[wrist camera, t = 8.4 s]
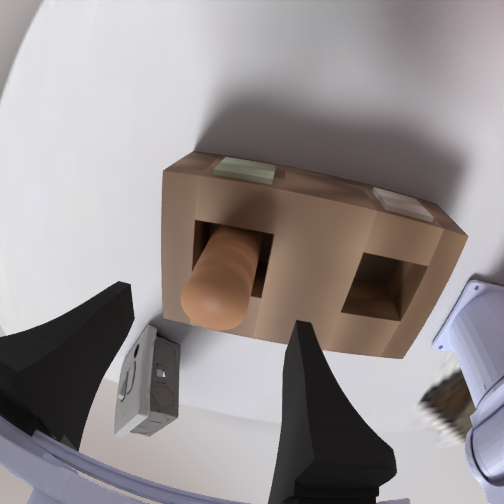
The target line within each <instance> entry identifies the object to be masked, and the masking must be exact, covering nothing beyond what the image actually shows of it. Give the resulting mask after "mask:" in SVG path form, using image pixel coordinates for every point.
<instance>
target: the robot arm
mask: <svg viewBox="0 0 504 504" xmlns="http://www.w3.org/2000/svg"><path fill="white" fill-rule="evenodd" d="M134 319H135V317H134V310H133V301H132V293H131V284H128V283H124V282H120V281H118V282H116V283H115V284H113V285H111V286H110V287H108V288H107V289H105V290H103V291H102V292H100V293H99V294H97V295H96V296H94V297H92V298H91V299H89V300H88V301H86V302H84V303H83V304H81V305H79V306H78V307H76V308H74V309H72V310H71V311H69V312H67V313H65V314H64V315H62V316H60V317H58V318H56V319H53V320H51V321H49V322H47V323H45V324H42V325H39V326H37V327H34V328H31V329H29V330H26V331H23V332H19V333H16V334H12V335H8V336H3V337H0V464H1V465H2V466H4V467H5V468H6V469H8V470H9V471H10V472H12V473H13V474H15V475H16V476H17V477H19V478H20V479H22V480H23V481H25V482H26V483H28V484H29V485H31V486H32V487H34V489H33V492H32V494H31V496H30V498H29V501H28V503H27V504H148V503H145V502H142V501H139V500H137V499H134V498H131V497H129V496H126V495H123V494H121V493H118V492H116V491H113V490H111V489H108V488H106V487H104V486H102V485H99V484H97V483H95V482H93V481H90V480H88V479H86V478H84V477H82V476H80V475H79V474H78V473H77V471H76V470H78V471H80V472H82V473H85V474H87V475H89V476H91V477H93V478H95V479H98V480H100V481H103V482H105V483H107V484H109V485H112V486H114V487H117V488H119V489H122V490H124V491H127V492H130V493H132V494H135V495H138V496H141V497H144V498H147V499H150V500H153V501H156V502H160V503H163V504H249V503H241V502H236V501H229V500H224V499H219V498H214V497H209V496H204V495H200V494H196V493H191V492H187V491H183V490H180V489H176V488H173V487H169V486H165V485H162V484H159V483H155V482H153V481H149V480H146V479H143V478H140V477H138V476H135V475H132V474H129V473H127V472H124V471H121V470H119V469H116V468H114V467H111V466H109V465H106V464H104V463H102V462H99V461H97V460H95V459H93V458H90V457H88V456H86V455H84V454H82V453H80V452H78V451H79V447H80V442H81V438H82V434H83V430H84V427H85V423H86V420H87V417H88V414H89V411H90V408H91V405H92V403H93V400H94V397H95V395H96V392H97V390H98V388H99V385H100V383H101V380H102V378H103V377H104V375H105V373H106V371H107V369H108V368H109V366H110V364H111V363H112V361H113V359H114V358H115V356H116V354H117V353H118V351H119V349H120V347H121V346H122V344H123V342H124V341H125V339H126V337H127V335H128V333H129V331H130V328H131V326H132V324H133V321H134ZM431 347H432V349H433V350H440V351H454V353H455V355H456V357H457V360H458V362H459V365H460V367H461V370H462V372H463V375H464V377H465V380H466V383H467V385H468V388H469V391H470V394H471V396H472V399H473V402H474V405H475V408H476V411H475V412H474V413H473V414H472V415H471V416H470V418H471V421H472V425H473V427H472V428H471V429H470V430H469V431H468V433H467V436H466V440H465V459H466V463H467V466H468V468H469V470H470V472H471V474H472V475H473V477H474V478H475V479H476V480H477V481H478V482H479V484H480V485H481V487H482V489H483V490H484V493H485V495H486V498H487V502H488V503H489V504H504V287H503V286H499V285H495V284H490V283H486V282H482V281H477V280H471V281H469V282H468V284H467V286H466V288H465V289H464V291H463V293H462V295H461V297H460V299H459V300H458V302H457V304H456V306H455V307H454V309H453V311H452V313H451V314H450V316H449V318H448V319H447V321H446V323H445V324H444V326H443V327H442V329H441V331H440V332H439V334H438V335H437V337H436V338H435V340H434V342H433V343H432V345H431ZM64 463H65V464H64ZM66 464H67V465H66ZM68 465H69V466H70V467H69V466H68ZM71 467H72V468H75V469H76V470H74V469H72V468H71ZM396 473H397V469H396V460H395V456H394V452H393V449H392V448H391V447H390V446H389V445H388V444H387V443H386V442H384V441H383V440H382V439H381V438H380V437H379V436H378V435H377V434H376V433H375V432H374V431H373V430H372V429H371V428H370V427H369V426H368V425H367V423H366V422H365V421H364V420H363V419H362V417H361V416H360V415H359V414H358V412H357V411H356V410H355V409H354V407H353V406H352V404H351V403H350V402H349V400H348V399H347V397H346V396H345V394H344V393H343V391H342V389H341V388H340V386H339V384H338V383H337V381H336V379H335V377H334V375H333V373H332V371H331V369H330V367H329V365H328V363H327V361H326V359H325V357H324V354H323V352H322V350H321V347H320V345H319V342H318V340H317V337H316V334H315V331H314V328H313V325H312V324H311V322H306V321H300V320H296V322H295V325H294V328H293V331H292V334H291V337H290V340H289V343H288V346H287V349H286V352H285V359H284V367H283V388H282V426H281V434H280V441H279V447H278V454H277V460H276V466H275V471H274V477H273V482H272V487H271V492H270V496H269V501H268V504H410V500H409V499H408V498H405V499H398V500H389V501H382V502H379V503H376V497H377V496H379V487H380V486H381V485H383V484H384V483H386V482H388V481H389V480H390V479H392V478H393V477H394V476H395V475H396Z"/></svg>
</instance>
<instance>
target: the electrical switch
mask: <svg viewBox="0 0 504 504" xmlns="http://www.w3.org/2000/svg"><path fill="white" fill-rule="evenodd" d="M156 333H157V328H156V327H154V326H151V325H147V326H146V328H145V329H144V331H143V332H142V334H141V335H140V337H139V338H138V340H137V341H136V343H135V345H134V346H133V348H132V349H131V351H130V352H129V354H128V355H127V357H126V358H125V360H124V362H123V365H122V369H121V374H120V380H119V387H118V394H117V403H116V410H115V424H114V434H115V435H116V436H119V437H123V436H124V435H125V434H127V433H128V432H132V433H138V434H142V435H146V436H151V435H153V434H154V433H156V432H157V431H159V430H160V429H162V428H163V427H165V426H166V425H168V424H169V423H171V422H172V421H174V420H175V419H177V418H178V403H179V364H180V345H178V344H175V343H172V342H170V341H168V340H166V339H164V338H161V337H158V336H157V335H156ZM163 365H164V366H166V367H163ZM163 371H165V376H166V377H162V375H163ZM162 383H163V384H162ZM168 414H169V415H168ZM174 415H175V416H174Z"/></svg>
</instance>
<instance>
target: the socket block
mask: <svg viewBox="0 0 504 504" xmlns="http://www.w3.org/2000/svg"><path fill="white" fill-rule="evenodd" d="M218 224H222V225H228V226H233V227H239V228H244V229H249V230H255V231H260V232H264V236H263V240H262V245H261V250H260V254H259V259H258V264H257V268H256V273H255V277H254V282H253V286H252V291H251V296H250V300H249V305H248V309H247V314H246V317H245V319H244V320H243V321H242V323H241V324H239V325H238V326H237V327H235V328H232V329H229V330H222V331H220V332H224V333H229V334H234V335H239V336H244V337H249V338H254V339H259V340H265V341H270V342H276V343H282V344H288V343H289V340H290V337H291V334H292V331H293V328H294V325H295V322H296V320H300V321H306V322H311V324H312V325H313V328H314V331H315V334H316V337H317V340H318V342H319V345H320V347H321V350H326V351H334V352H341V353H349V354H357V355H366V356H375V357H385V358H395V359H403V357H404V356H405V354H406V353H407V351H408V350H409V348H410V347H411V345H412V344H413V342H414V340H415V339H416V337H417V336H418V334H419V332H420V331H421V329H422V327H423V326H424V324H425V322H426V321H427V319H428V317H429V315H430V314H431V312H432V310H433V308H434V307H435V305H436V303H437V301H438V299H439V297H440V295H441V294H442V292H443V290H444V288H445V286H446V284H447V282H448V280H449V278H450V276H451V274H452V272H453V270H454V268H455V266H456V263H457V261H458V259H459V257H460V255H461V253H462V250H463V248H464V246H465V243H466V241H467V239H468V235H467V234H466V233H465V232H464V231H463V230H462V229H461V228H460V227H459V226H458V225H457V224H456V223H455V222H454V221H453V220H452V219H451V218H450V217H449V216H448V215H447V214H446V213H445V212H444V211H443V210H442V209H441V208H440V207H439V206H438V205H436V204H433V203H430V202H427V201H424V200H420V199H417V198H414V197H410V196H407V195H403V194H400V193H396V192H393V191H389V190H386V189H382V188H378V187H374V186H370V185H367V184H363V183H359V182H355V181H351V180H346V179H342V178H338V177H334V176H329V175H325V174H320V173H316V172H311V171H306V170H301V169H297V168H292V167H286V166H281V165H276V164H270V163H265V162H259V161H253V160H248V159H241V158H235V157H229V156H222V155H215V154H208V153H200V152H191V153H190V154H188V155H186V156H185V157H183V158H182V159H180V160H179V161H177V162H176V163H174V164H172V165H171V166H169V167H168V168H166V169H165V170H163V182H162V215H161V267H162V300H163V318H164V319H168V320H172V321H176V322H180V323H185V324H189V325H193V326H197V327H202V326H200V325H198V324H196V323H195V322H194V321H192V320H191V319H190V318H189V317H188V316H187V315H186V313H185V312H184V310H183V308H182V305H181V293H182V290H183V288H184V286H185V284H186V282H187V281H188V279H189V277H190V275H191V273H192V271H193V269H194V267H195V265H196V264H197V262H198V260H199V258H200V256H201V254H202V252H203V250H204V249H205V247H206V245H207V243H208V241H209V239H210V238H211V236H212V234H213V232H214V230H215V228H216V227H217V225H218ZM202 328H204V327H202ZM206 329H207V328H206ZM215 331H217V330H215Z"/></svg>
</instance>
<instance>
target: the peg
mask: <svg viewBox="0 0 504 504" xmlns="http://www.w3.org/2000/svg"><path fill="white" fill-rule="evenodd" d="M263 236H264V232H260V231H255V230H249V229H244V228H239V227H233V226H228V225H222V224H218V225H217V227H216V228H215V230H214V232H213V234H212V236H211V238H210V239H209V241H208V243H207V245H206V247H205V249H204V250H203V252H202V254H201V256H200V258H199V260H198V262H197V264H196V265H195V267H194V269H193V271H192V273H191V275H190V277H189V279H188V281H187V282H186V284H185V286H184V288H183V290H182V293H181V305H182V308H183V310H184V312H185V313H186V315H187V316H188V317H189V318H190V319H191V320H192V321H194V322H195V323H196V324H198V325H200V326H202V327H204V328H207V329H211V330H217V331H222V330H229V329H232V328H235V327H237V326H238V325H239V324H241V323H242V321H243V320H244V319H245V317H246V314H247V309H248V305H249V300H250V296H251V291H252V286H253V282H254V277H255V273H256V268H257V264H258V259H259V254H260V250H261V245H262V240H263Z"/></svg>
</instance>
